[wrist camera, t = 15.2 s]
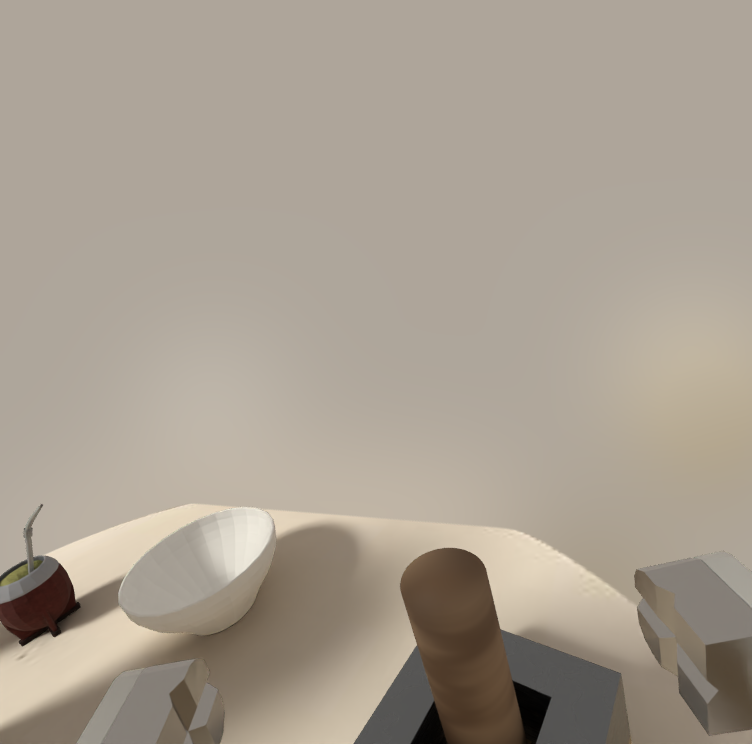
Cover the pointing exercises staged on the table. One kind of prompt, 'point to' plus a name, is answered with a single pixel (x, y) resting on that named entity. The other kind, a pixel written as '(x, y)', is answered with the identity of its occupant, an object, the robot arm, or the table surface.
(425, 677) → the socket block
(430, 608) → the walnut pin
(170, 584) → the bowl
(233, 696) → the table surface
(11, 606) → the mate gourd
